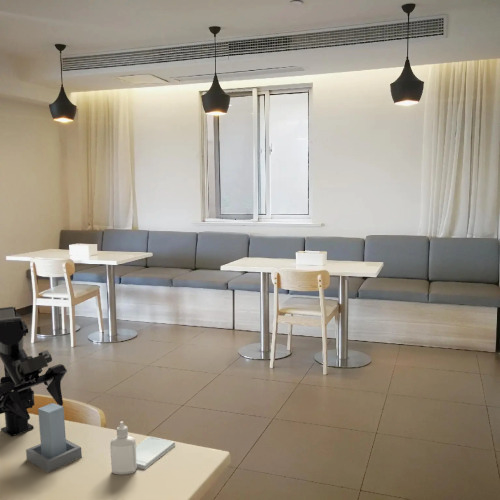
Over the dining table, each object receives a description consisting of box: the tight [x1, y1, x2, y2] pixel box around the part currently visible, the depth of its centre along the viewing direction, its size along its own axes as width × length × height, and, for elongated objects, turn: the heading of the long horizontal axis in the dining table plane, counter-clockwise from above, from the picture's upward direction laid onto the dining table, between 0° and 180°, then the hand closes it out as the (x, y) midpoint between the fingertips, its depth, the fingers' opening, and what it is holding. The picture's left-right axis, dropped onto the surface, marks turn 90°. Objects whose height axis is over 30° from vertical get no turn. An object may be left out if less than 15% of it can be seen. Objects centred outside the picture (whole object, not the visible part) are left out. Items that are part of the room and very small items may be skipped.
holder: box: [25, 438, 83, 473], centre depth 129 cm, size 10×9×2 cm
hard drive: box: [136, 436, 176, 470], centre depth 130 cm, size 2×8×12 cm
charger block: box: [37, 402, 67, 459], centre depth 128 cm, size 4×4×13 cm
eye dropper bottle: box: [109, 420, 137, 475], centre depth 121 cm, size 4×6×12 cm
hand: (45, 412), depth 129 cm, fingers open, 9 cm apart
